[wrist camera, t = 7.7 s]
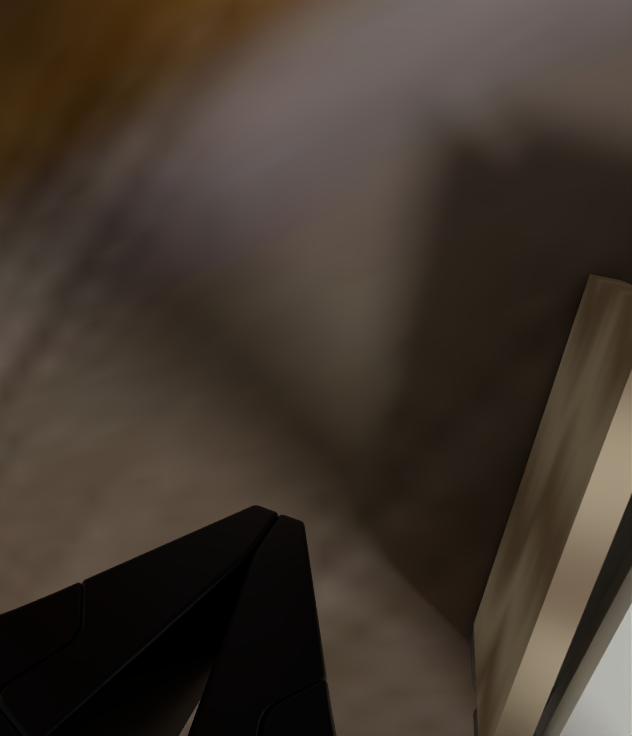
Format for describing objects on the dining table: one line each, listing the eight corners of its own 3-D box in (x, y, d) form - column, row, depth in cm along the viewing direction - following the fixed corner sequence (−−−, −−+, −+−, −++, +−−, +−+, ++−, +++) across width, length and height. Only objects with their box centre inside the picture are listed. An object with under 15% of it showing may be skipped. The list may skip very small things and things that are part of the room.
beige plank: (492, 649, 23) (504, 804, 17) (468, 641, 23) (472, 792, 17) (621, 280, 18) (703, 318, 12) (590, 274, 18) (654, 308, 12)
